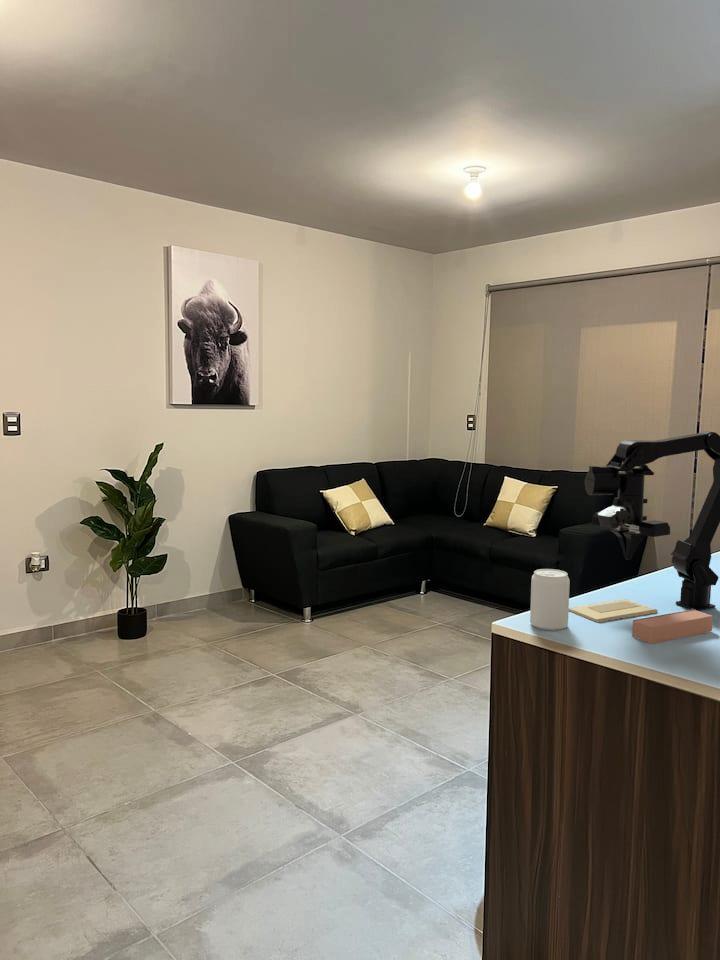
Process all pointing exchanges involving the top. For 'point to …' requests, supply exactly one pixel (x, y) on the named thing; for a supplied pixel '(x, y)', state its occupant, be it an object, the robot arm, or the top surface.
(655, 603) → the top surface
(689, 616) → the pink long block
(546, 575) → the beverage can
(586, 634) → the top surface
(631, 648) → the top surface
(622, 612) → the tan rectangular slab
